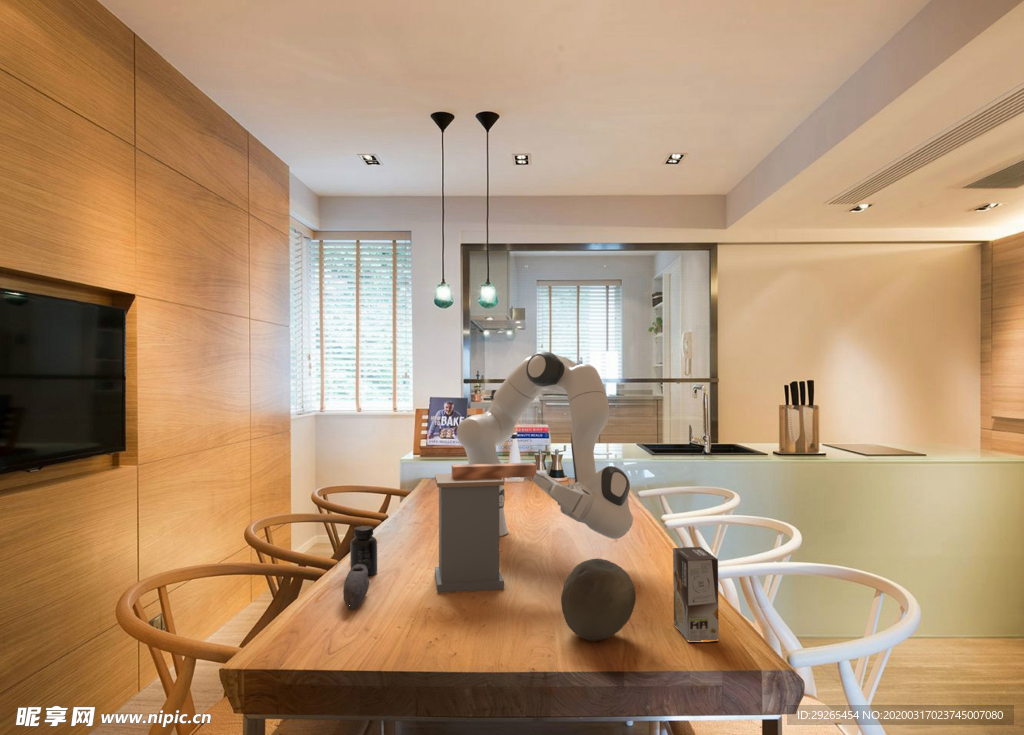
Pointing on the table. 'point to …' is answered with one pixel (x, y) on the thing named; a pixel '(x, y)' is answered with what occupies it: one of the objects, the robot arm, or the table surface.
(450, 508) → the stand
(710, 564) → the coffee box
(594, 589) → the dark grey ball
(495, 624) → the table surface
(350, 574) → the perforated stone tool
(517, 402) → the robot arm
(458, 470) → the bar
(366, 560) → the supplement bottle
